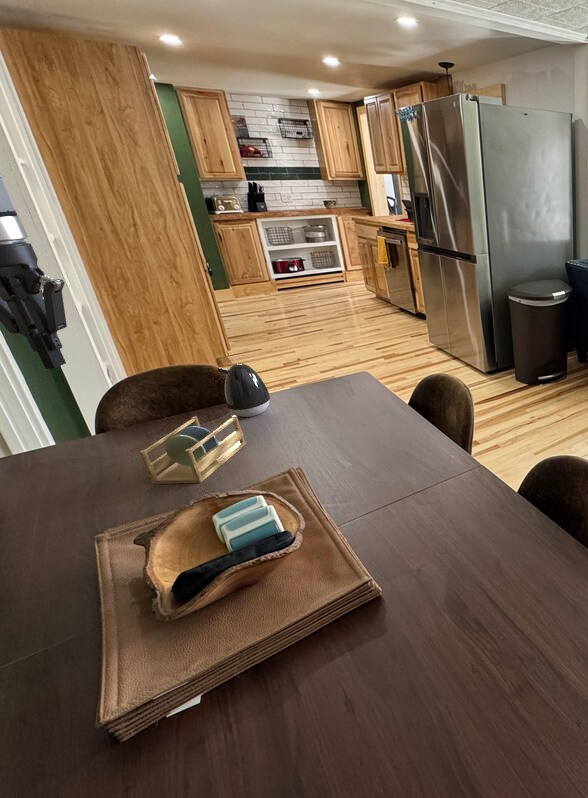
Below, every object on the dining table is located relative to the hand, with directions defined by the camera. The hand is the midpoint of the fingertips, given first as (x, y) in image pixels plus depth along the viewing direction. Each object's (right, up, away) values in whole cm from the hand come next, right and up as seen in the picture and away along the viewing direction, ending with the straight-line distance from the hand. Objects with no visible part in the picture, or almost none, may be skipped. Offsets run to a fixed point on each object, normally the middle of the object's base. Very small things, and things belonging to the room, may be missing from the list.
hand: (56, 365), depth 92 cm
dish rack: (+13, -23, +18) cm, 32 cm away
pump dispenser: (+6, -13, +45) cm, 47 cm away
